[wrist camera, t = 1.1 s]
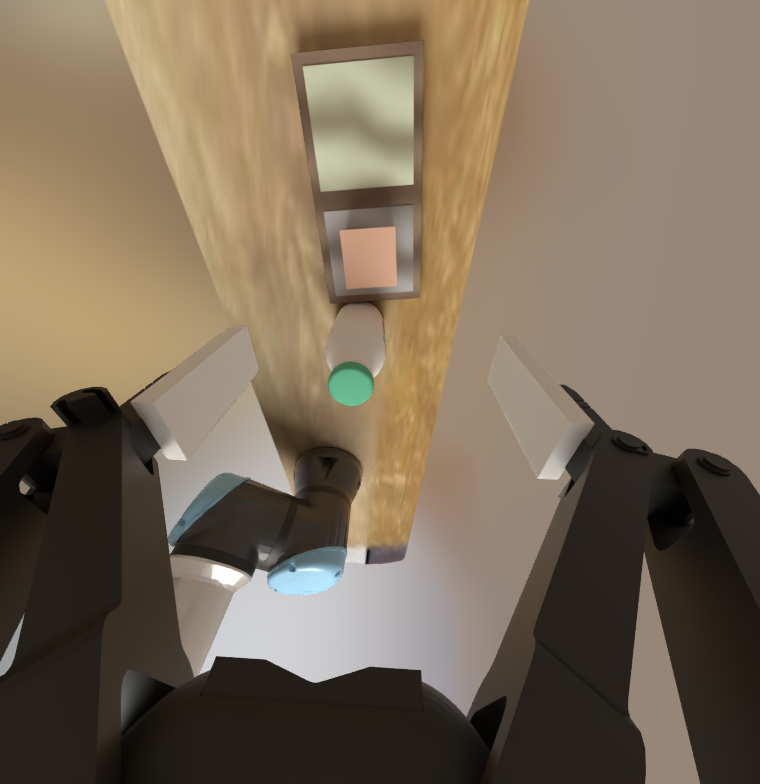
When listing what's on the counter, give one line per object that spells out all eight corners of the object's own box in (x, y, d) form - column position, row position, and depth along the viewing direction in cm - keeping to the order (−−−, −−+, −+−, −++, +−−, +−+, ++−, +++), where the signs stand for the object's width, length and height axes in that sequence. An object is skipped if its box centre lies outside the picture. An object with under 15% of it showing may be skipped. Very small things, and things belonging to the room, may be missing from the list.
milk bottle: (326, 322, 43) (295, 387, 26) (360, 288, 41) (349, 336, 24) (359, 354, 46) (351, 431, 29) (393, 325, 44) (405, 390, 27)
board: (417, 293, 41) (420, 298, 38) (333, 298, 41) (329, 303, 39) (420, 56, 28) (424, 38, 26) (298, 68, 29) (290, 52, 26)
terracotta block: (394, 277, 37) (397, 285, 32) (351, 280, 37) (346, 289, 32) (393, 226, 34) (395, 226, 29) (345, 229, 34) (339, 230, 29)
